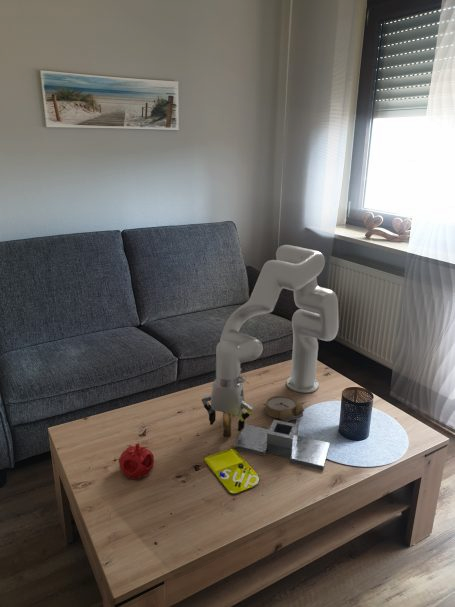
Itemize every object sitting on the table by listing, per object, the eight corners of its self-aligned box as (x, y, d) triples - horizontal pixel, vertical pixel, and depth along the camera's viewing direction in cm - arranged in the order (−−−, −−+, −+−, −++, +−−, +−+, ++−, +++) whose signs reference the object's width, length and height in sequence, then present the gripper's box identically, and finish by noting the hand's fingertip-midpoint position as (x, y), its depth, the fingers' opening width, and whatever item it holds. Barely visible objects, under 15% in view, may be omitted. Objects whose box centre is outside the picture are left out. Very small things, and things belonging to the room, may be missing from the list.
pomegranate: (117, 464, 144) (115, 438, 141) (150, 457, 147) (149, 431, 144) (122, 486, 135) (120, 458, 132) (157, 478, 138) (156, 451, 135)
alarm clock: (281, 392, 179) (311, 403, 167) (282, 404, 180) (312, 416, 168) (258, 402, 173) (287, 414, 161) (259, 414, 174) (288, 427, 162)
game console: (201, 461, 147) (201, 457, 146) (232, 450, 152) (232, 446, 151) (231, 498, 132) (231, 494, 131) (265, 484, 137) (265, 480, 137)
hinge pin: (224, 432, 160) (224, 406, 156) (231, 433, 159) (232, 407, 156) (221, 436, 158) (222, 410, 154) (229, 438, 157) (229, 411, 153)
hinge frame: (245, 428, 162) (246, 410, 160) (329, 446, 153) (331, 428, 151) (233, 448, 152) (234, 429, 149) (323, 470, 143) (325, 450, 140)
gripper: (257, 378, 152) (255, 425, 157) (206, 369, 157) (206, 414, 163) (250, 389, 145) (248, 438, 151) (197, 379, 151) (197, 426, 156)
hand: (226, 426), depth 157 cm, fingers open, 9 cm apart
